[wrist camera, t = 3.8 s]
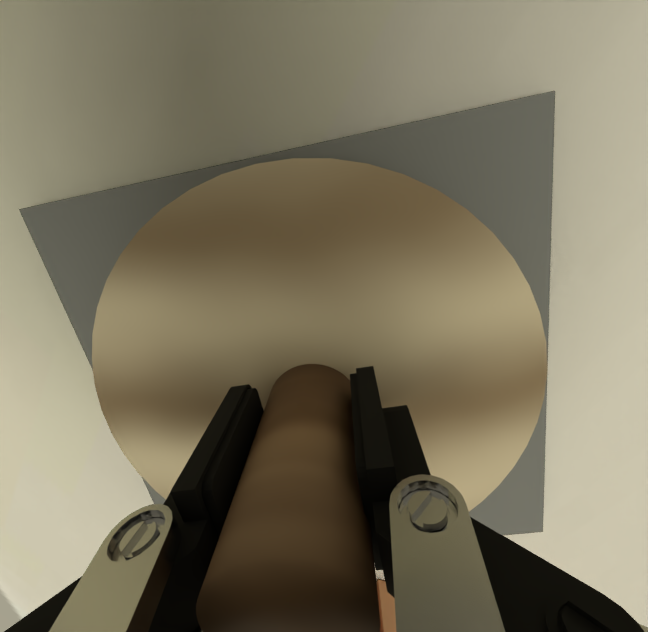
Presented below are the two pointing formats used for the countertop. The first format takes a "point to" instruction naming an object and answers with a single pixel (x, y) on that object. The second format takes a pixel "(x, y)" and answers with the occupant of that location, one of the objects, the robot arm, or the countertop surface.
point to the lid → (315, 366)
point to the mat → (379, 150)
